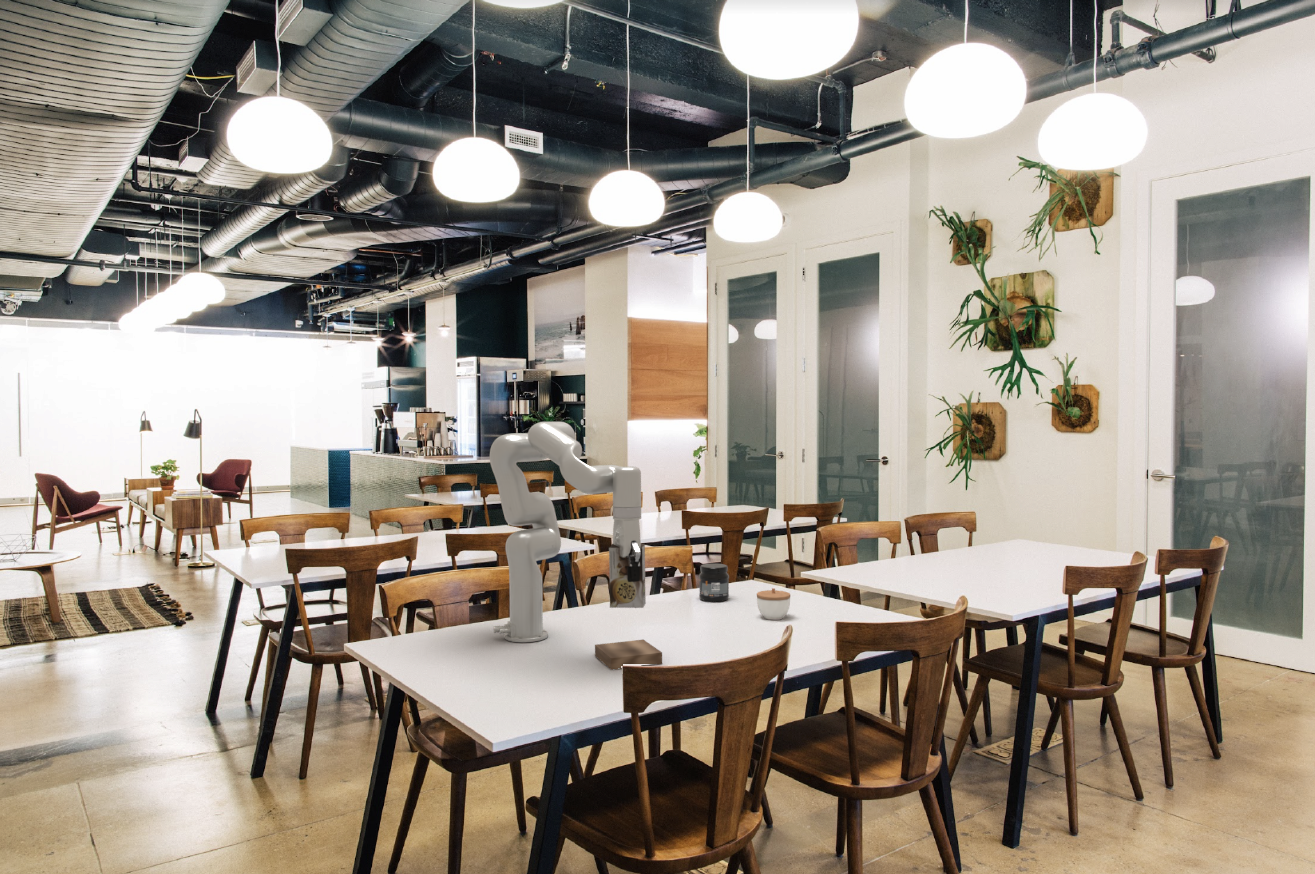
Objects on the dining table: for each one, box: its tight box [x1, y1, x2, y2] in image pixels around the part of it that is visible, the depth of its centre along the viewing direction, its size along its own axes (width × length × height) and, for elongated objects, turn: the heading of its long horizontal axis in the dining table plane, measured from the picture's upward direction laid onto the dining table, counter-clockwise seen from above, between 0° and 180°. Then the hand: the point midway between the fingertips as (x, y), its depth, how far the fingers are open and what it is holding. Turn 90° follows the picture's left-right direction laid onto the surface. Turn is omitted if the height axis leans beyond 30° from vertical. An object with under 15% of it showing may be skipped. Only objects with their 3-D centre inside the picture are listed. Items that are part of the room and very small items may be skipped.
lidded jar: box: [756, 587, 791, 621], centre depth 270 cm, size 11×11×9 cm
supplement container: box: [698, 563, 730, 603], centre depth 298 cm, size 10×10×12 cm
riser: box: [594, 639, 663, 671], centre depth 224 cm, size 14×14×3 cm
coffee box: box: [608, 543, 647, 609], centre depth 223 cm, size 9×6×16 cm
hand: (627, 578), depth 223 cm, fingers closed on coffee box, 8 cm apart
